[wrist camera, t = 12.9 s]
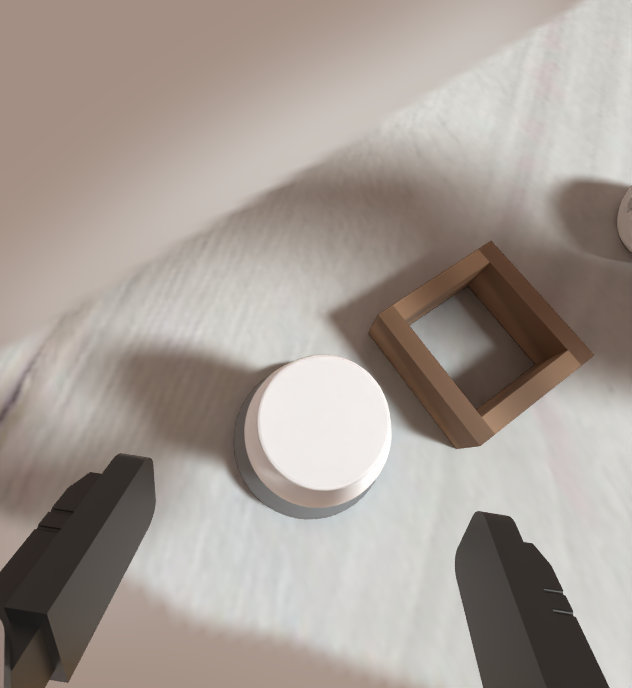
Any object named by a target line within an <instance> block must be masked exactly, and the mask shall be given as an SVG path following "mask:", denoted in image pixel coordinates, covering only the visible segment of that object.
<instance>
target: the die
mask: <svg viewBox="0 0 632 688" xmlns="http://www.w3.org/2000/svg"><path fill="white" fill-rule="evenodd" d="M617 228H618V233H619V236H620V238H621V240H622V242H623V243H624V245H625V246H626V247H627V249H628V250H629V251H630V252H631V253H632V186H631V187H630V188H629V189H628V191H627V192H626V194H625V196H624V197H623V199H622V202H621V204H620V207H619V211H618V216H617Z"/></svg>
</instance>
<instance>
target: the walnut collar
mask: <svg viewBox="0 0 632 688" xmlns="http://www.w3.org/2000/svg"><path fill="white" fill-rule="evenodd" d="M467 286H469V288H470V289H471V290H472V291H473V292H474V293H475V295H476V296H477V297H478V298H479V299H480V300H481V302H482V303H483V304H484V305H485V306H486V307H487V309H488V310H489V311H490V312H491V313H492V314H493V316H494V317H495V318H496V319H497V320H498V321H499V323H500V324H501V325H502V326H503V327H504V328H505V330H506V331H507V332H508V333H509V334H510V335H511V337H512V338H513V339H514V340H515V341H516V342H517V344H518V345H519V346H520V347H521V348H522V349H523V351H524V352H525V353H526V354H527V355H528V356H529V358H530V359H531V360H532V361H533V362H534V363H535V365H534V366H533V367H531V368H530V369H529V370H527V371H526V372H525V373H524V374H522V375H521V376H520V377H518V378H517V379H516V380H514V381H513V382H512V383H510V384H509V385H508V386H507V387H505V388H504V389H503V390H501V391H500V392H499V393H497V394H496V395H495V396H494V397H492V398H491V399H490V400H488V401H487V402H486V403H484V404H483V405H482V406H480V407H479V408H478V409H477V410H476V409H475V408H474V407H473V405H472V404H471V403H470V402H469V400H468V399H467V398H466V397H465V395H464V394H463V393H462V392H461V390H460V389H459V388H458V387H457V385H456V384H455V383H454V381H453V380H452V379H451V378H450V376H449V375H448V374H447V373H446V371H445V370H444V369H443V368H442V366H441V365H440V364H439V363H438V361H437V360H436V359H435V357H434V356H433V355H432V354H431V352H430V351H429V350H428V349H427V347H426V346H425V345H424V344H423V342H422V341H421V340H420V339H419V337H418V336H417V335H416V333H415V332H414V331H413V330H412V328H411V327H410V326H409V325H410V324H412V323H413V322H415V321H416V320H418V319H419V318H421V317H422V316H424V315H425V314H427V313H428V312H430V311H431V310H433V309H434V308H436V307H437V306H439V305H440V304H442V303H443V302H445V301H446V300H448V299H449V298H450V297H452V296H453V295H455V294H456V293H458V292H459V291H461V290H462V289H464V288H465V287H467ZM369 335H370V336H371V337H372V339H373V340H374V341H375V342H376V344H377V345H378V346H379V348H380V349H381V350H382V352H383V353H384V354H385V356H386V357H387V358H388V360H389V361H390V362H391V364H392V365H393V366H394V368H395V369H396V370H397V371H398V373H399V374H400V375H401V377H402V378H403V379H404V381H405V382H406V383H407V385H408V386H409V387H410V389H411V390H412V391H413V393H414V394H415V395H416V397H417V398H418V399H419V400H420V402H421V403H422V404H423V406H424V407H425V408H426V410H427V411H428V412H429V414H430V415H431V416H432V418H433V419H434V420H435V422H436V423H437V424H438V425H439V427H440V428H441V429H442V431H443V432H444V433H445V435H446V436H447V437H448V439H449V440H450V441H451V443H452V444H453V445H454V447H455V448H456V449H460V448H469V447H477V446H481V445H482V444H483V443H485V442H486V441H487V440H488V439H490V438H491V437H492V436H494V435H495V434H496V433H497V432H499V431H500V430H501V429H502V428H504V427H505V426H506V425H507V424H509V423H510V422H511V421H512V420H514V419H515V418H516V417H517V416H519V415H520V414H521V413H522V412H524V411H525V410H526V409H527V408H529V407H530V406H531V405H533V404H534V403H535V402H536V401H538V400H539V399H540V398H541V397H543V396H544V395H545V394H546V393H548V392H549V391H550V390H551V389H553V388H554V387H555V386H556V385H558V384H559V383H560V382H561V381H563V380H564V379H565V378H566V377H568V376H569V375H570V374H572V373H573V372H574V371H575V370H577V369H578V368H579V367H580V366H582V365H583V364H584V363H585V362H587V361H588V360H589V359H590V358H592V357H593V356H594V354H593V353H592V352H591V351H590V350H589V348H588V347H587V346H586V345H585V344H584V343H583V342H582V341H581V340H580V339H579V337H578V336H577V335H576V334H575V333H574V332H573V331H572V330H571V329H570V327H569V326H568V325H567V324H566V323H565V322H564V321H563V320H562V319H561V318H560V316H559V315H558V314H557V313H556V312H555V311H554V310H553V309H552V308H551V306H550V305H549V304H548V303H547V302H546V301H545V300H544V299H543V298H542V296H541V295H540V294H539V293H538V292H537V291H536V290H535V289H534V288H533V287H532V285H531V284H530V283H529V282H528V281H527V280H526V279H525V278H524V277H523V275H522V274H521V273H520V272H519V271H518V270H517V269H516V268H515V267H514V266H513V264H512V263H511V262H510V261H509V260H508V259H507V258H506V257H505V256H504V254H503V253H502V252H501V251H500V250H499V249H498V248H497V247H496V246H495V245H494V243H493V242H492V241H490V242H488V243H487V244H485V245H484V246H482V247H481V248H479V249H478V250H476V251H475V252H473V253H472V254H470V255H469V256H467V257H465V258H464V259H462V260H461V261H459V262H458V263H456V264H455V265H453V266H452V267H450V268H449V269H447V270H446V271H444V272H443V273H441V274H439V275H438V276H436V277H435V278H433V279H432V280H430V281H429V282H427V283H426V284H424V285H423V286H421V287H420V288H418V289H417V290H415V291H413V292H412V293H410V294H409V295H407V296H406V297H404V298H403V299H401V300H400V301H398V302H397V303H395V304H394V305H392V306H390V307H389V308H387V309H386V310H384V311H383V312H381V313H380V314H378V316H377V318H376V320H375V321H374V323H373V325H372V327H371V329H370V331H369Z"/></svg>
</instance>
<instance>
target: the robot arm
mask: <svg viewBox="0 0 632 688" xmlns="http://www.w3.org/2000/svg"><path fill="white" fill-rule="evenodd" d="M155 503H156V498H155V484H154V469H153V461H152V459H151V458H147V457H141V456H134V455H128V454H121V453H120V454H118V455H116V456H115V457H114V459H113V460H112V461H111V462H110V464H109V465H108V466H107V468H106V469H105V471H104V472H103V473H102V474H99V473H92V472H90V473H89V474H87V475H86V476H84V477H83V478H81V479H80V480H79V481H77V482H76V483H74V484H73V485H71V486H70V487H69V488H68V489H67V490H66V491H65V492H64V494H63V495H62V496H61V497H60V499H59V500H58V501H57V502H56V503H55V505H54V506H53V507H52V510H51V512H48V513H47V515H46V516H45V517H44V518H43V520H42V521H41V522H40V523H39V525H38V528H37V529H34V531H33V532H32V533H31V534H30V536H29V537H28V538H27V539H26V541H25V542H24V543H23V544H22V546H21V547H20V548H19V549H18V551H17V552H16V553H15V554H14V555H13V557H12V558H11V559H10V560H9V562H8V563H7V564H6V566H5V567H4V568H3V569H2V570H1V572H0V688H45V687H46V685H47V683H48V681H49V680H54V681H60V682H67V683H68V682H69V680H70V678H71V676H72V674H73V672H74V671H75V669H76V667H77V665H78V663H79V661H80V659H81V657H82V655H83V653H84V651H85V649H86V647H87V645H88V643H89V642H90V640H91V638H92V636H93V634H94V632H95V630H96V628H97V626H98V624H99V622H100V620H101V618H102V617H103V615H104V613H105V611H106V609H107V607H108V605H109V603H110V601H111V599H112V597H113V595H114V593H115V591H116V589H117V588H118V586H119V584H120V582H121V580H122V578H123V576H124V574H125V572H126V570H127V568H128V566H129V564H130V562H131V560H132V559H133V557H134V555H135V553H136V551H137V549H138V547H139V545H140V543H141V541H142V539H143V537H144V535H145V533H146V531H147V530H148V528H149V525H150V523H151V520H152V517H153V514H154V510H155ZM455 573H456V579H457V583H458V587H459V591H460V595H461V599H462V603H463V607H464V611H465V615H466V619H467V623H468V627H469V632H470V636H471V640H472V644H473V648H474V652H475V656H476V660H477V664H478V668H479V672H480V676H481V680H482V684H483V688H609V686H608V684H607V682H606V679H605V677H604V675H603V673H602V671H601V669H600V667H599V665H598V663H597V661H596V658H595V656H594V654H593V652H592V650H591V648H590V646H589V644H588V642H587V640H586V637H585V635H584V633H583V631H582V629H581V627H580V625H579V623H578V621H577V619H576V617H574V616H573V610H572V608H571V606H570V604H569V602H568V600H567V598H566V596H565V595H563V589H562V587H561V585H560V583H559V581H558V579H557V577H556V574H555V572H554V570H553V568H552V566H551V565H550V564H549V562H548V561H547V560H546V559H545V558H544V556H543V555H542V554H541V553H540V552H539V550H538V549H537V548H536V547H535V546H534V544H532V543H526V542H523V540H522V538H521V535H520V533H519V531H518V528H517V526H516V524H515V522H514V520H513V519H512V518H511V517H509V516H506V515H499V514H493V513H487V512H480V511H477V512H475V513H474V515H473V517H472V519H471V521H470V523H469V525H468V527H467V529H466V532H465V534H464V536H463V538H462V540H461V542H460V544H459V546H458V549H457V551H456V556H455Z"/></svg>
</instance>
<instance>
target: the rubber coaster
mask: <svg viewBox="0 0 632 688" xmlns="http://www.w3.org/2000/svg"><path fill="white" fill-rule="evenodd" d="M269 376H270V375H269ZM269 376H268V377H269ZM268 377H266V378H265V379H264V380H262V381H261V382H260V383H259V384H258V385H257V386H256V387H255V388H254V389H253V390H252V391H251V393H250V394H249V395H248V397H247V398H246V400H245V401H244V403H243V405H242V407H241V409H240V412H239V414H238V417H237V421H236V425H235V430H234V453H235V458H236V463H237V466H238V468H239V471H240V474H241V476H242V478H243V480H244V482H245V483H246V485H247V486H248V488H249V489H250V490H251V492H252V493H253V494H254V495H255V496H256V497H257V498H258V499H259V500H260V501H261V502H263V503H264V504H265V505H266V506H268V507H270V508H271V509H273V510H274V511H276V512H279V513H281V514H283V515H286V516H290V517H294V518H299V519H320V518H326V517H329V516H333V515H336V514H338V513H340V512H342V511H344V510H347V509H348V508H350V507H351V506H353V505H354V504H355V503H357V502H358V501H359V500H360V499H361V498H362V497H363V496H364V495H365V494H366V493H367V492H368V490H369V489H370V488H371V486H372V485H373V483H374V482H375V480H376V479H375V480H374V482H373V483H372V484H371V485H370V486H369V487H368V488H367V489H366V490H365V491H364V492H362V493H361V494H360V495H358V496H357V497H355V498H354V499H352V500H350V501H348V502H345V503H342V504H340V505H336V506H332V507H325V508H311V507H304V506H300V505H296V504H293V503H291V502H288V501H286V500H284V499H282V498H280V497H279V496H278V495H276V494H275V493H273V492H272V491H271V490H270V489H269V488H268V487H266V485H265V484H264V483H263V482H262V481H261V480H260V478H259V477H258V475H257V474H256V472H255V471H254V469H253V467H252V465H251V462H250V460H249V457H248V454H247V450H246V445H245V435H244V427H245V419H246V415H247V411H248V408H249V405H250V402H251V400H252V398H253V396H254V394H255V393H256V391H257V390H258V388H259V387H260V386H261V384H262V383H263V382H264V381H265V380H266V379H267V378H268Z"/></svg>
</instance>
